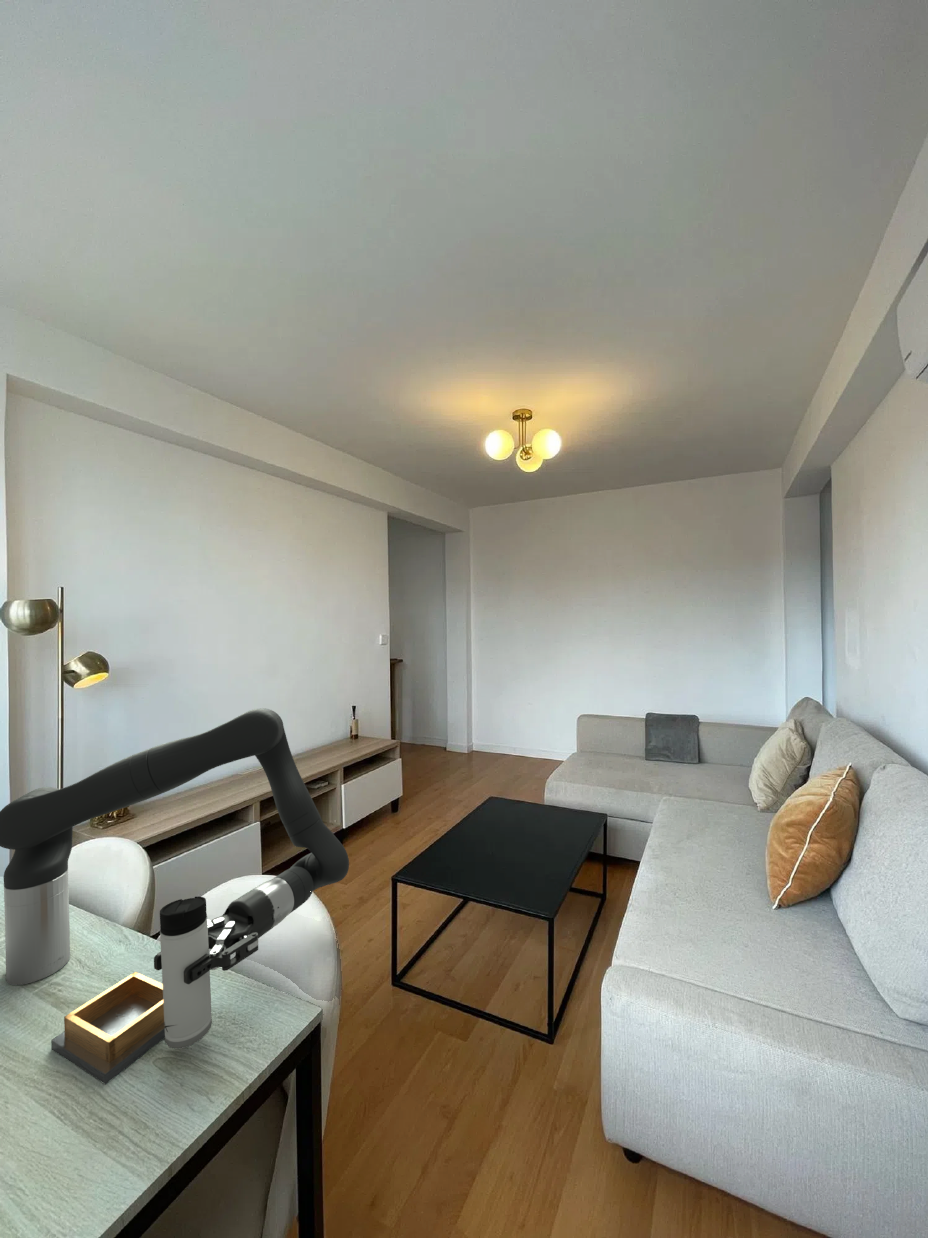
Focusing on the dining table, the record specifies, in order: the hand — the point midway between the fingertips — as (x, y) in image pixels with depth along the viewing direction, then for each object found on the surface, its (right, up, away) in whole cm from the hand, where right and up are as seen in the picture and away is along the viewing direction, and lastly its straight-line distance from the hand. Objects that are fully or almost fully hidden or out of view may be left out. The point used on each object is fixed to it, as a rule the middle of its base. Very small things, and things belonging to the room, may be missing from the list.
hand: (170, 970), depth 73 cm
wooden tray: (-10, -13, +5) cm, 18 cm away
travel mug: (+2, -11, +2) cm, 11 cm away
